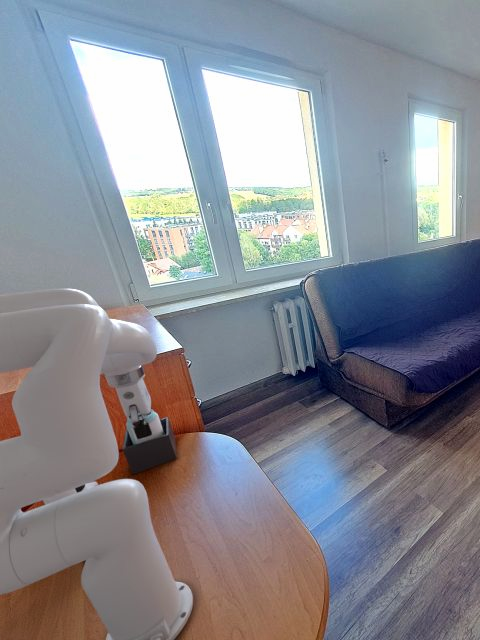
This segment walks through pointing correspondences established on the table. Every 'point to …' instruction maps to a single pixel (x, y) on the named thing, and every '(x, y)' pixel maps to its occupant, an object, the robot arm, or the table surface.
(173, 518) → the table surface
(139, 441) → the can
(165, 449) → the bin
